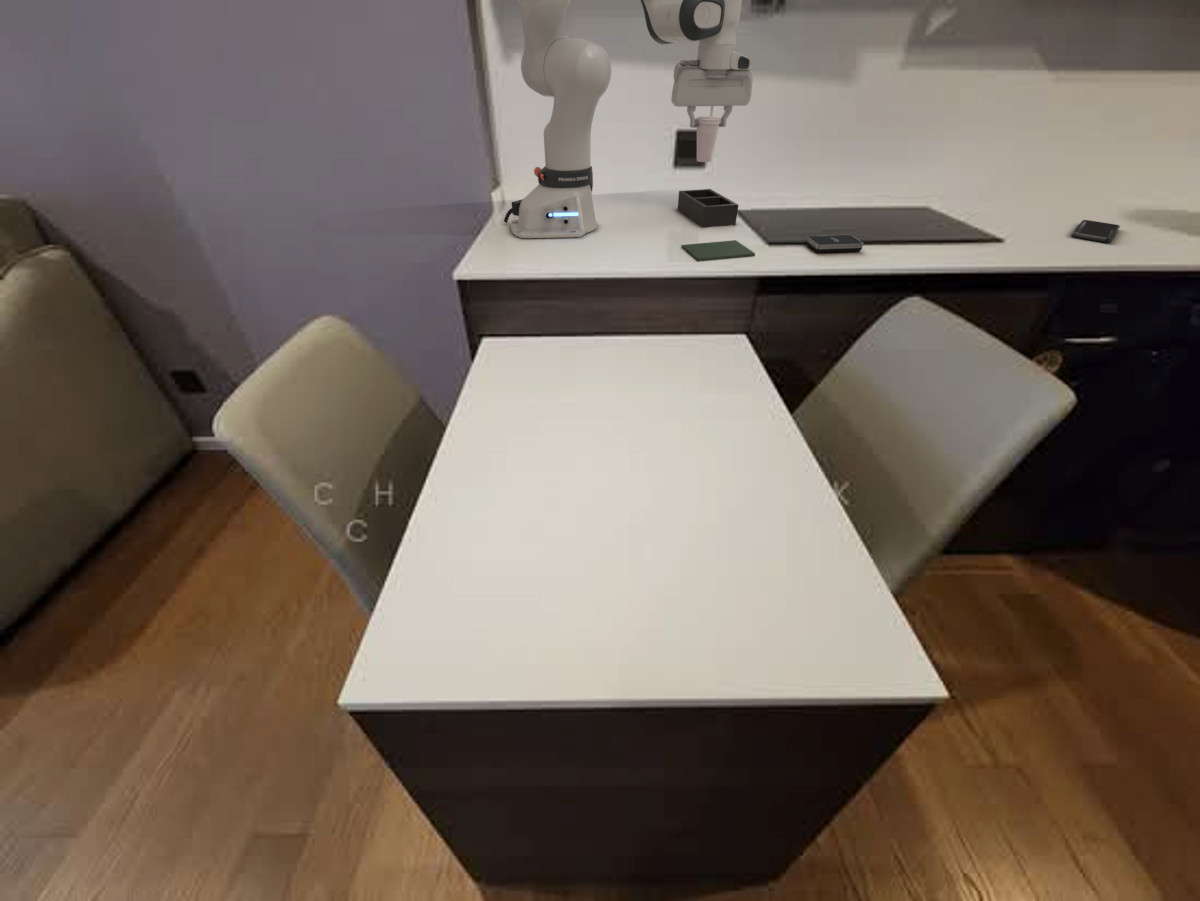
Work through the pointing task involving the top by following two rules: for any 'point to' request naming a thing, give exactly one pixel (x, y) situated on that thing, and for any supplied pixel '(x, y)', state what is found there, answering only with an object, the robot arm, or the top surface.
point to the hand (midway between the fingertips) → (707, 127)
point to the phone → (1096, 231)
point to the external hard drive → (834, 243)
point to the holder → (707, 208)
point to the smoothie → (706, 136)
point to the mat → (717, 250)
